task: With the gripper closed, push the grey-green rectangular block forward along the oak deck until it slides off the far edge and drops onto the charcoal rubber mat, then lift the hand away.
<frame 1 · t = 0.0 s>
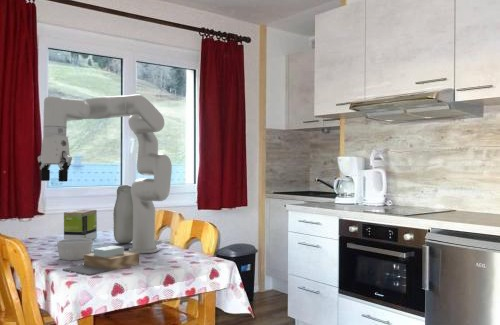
hand: (53, 181, 159), 31 cm above the table, tool pointing down, fingers open, 9 cm apart
grey bottle: (124, 243, 217), on the table
deck: (111, 264, 169), on the table
tea box: (80, 240, 226), on the table
mat: (86, 270, 159), on the table
ramekin: (74, 258, 181), on the table
grey-green rectangular block: (109, 254, 168), point 4 cm above the table, touching deck
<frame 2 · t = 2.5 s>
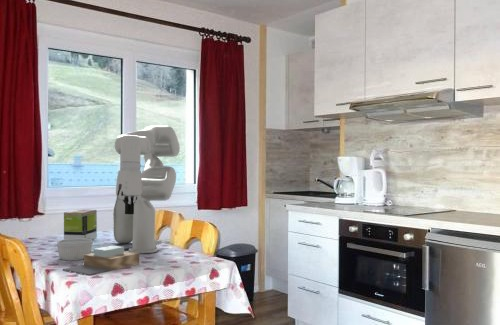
hand: (129, 213, 177), 18 cm above the table, tool pointing down, fingers closed
nothing on the table moved.
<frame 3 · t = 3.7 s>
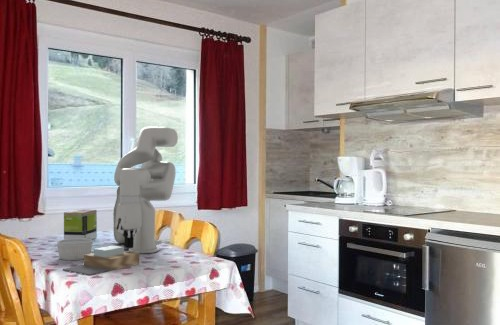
hand: (128, 247, 176), 5 cm above the table, tool pointing down, fingers closed
nothing on the table moved.
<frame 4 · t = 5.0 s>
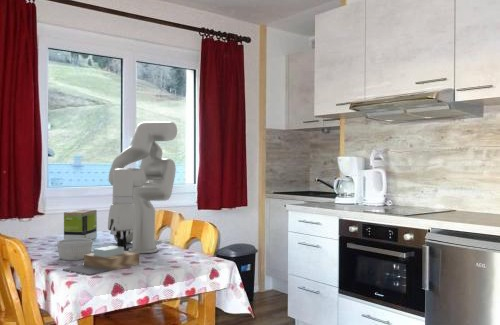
hand: (121, 248, 173), 5 cm above the table, tool pointing down, fingers closed
grey-green rectangular block: (109, 254, 168), point 4 cm above the table, touching deck, gripper
everything else where it was.
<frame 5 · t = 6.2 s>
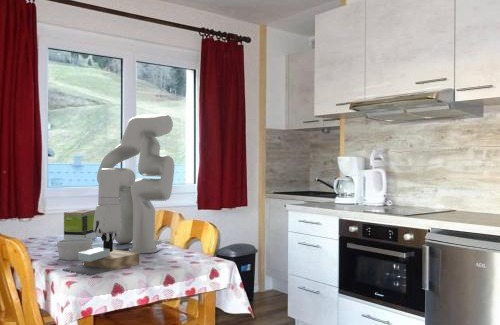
hand: (107, 251, 167), 5 cm above the table, tool pointing down, fingers closed
grey-green rectangular block: (94, 257, 162), point 4 cm above the table, touching deck
everything else where it was.
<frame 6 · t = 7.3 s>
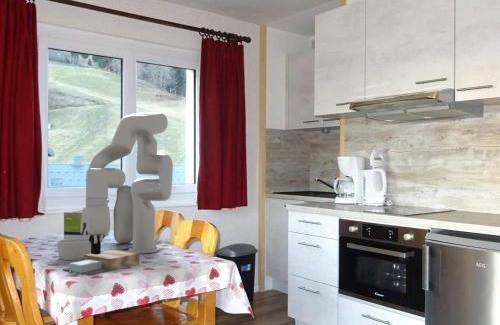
hand: (95, 253, 163), 5 cm above the table, tool pointing down, fingers closed
grey-green rectangular block: (85, 269, 159), resting on mat
everything else where it was.
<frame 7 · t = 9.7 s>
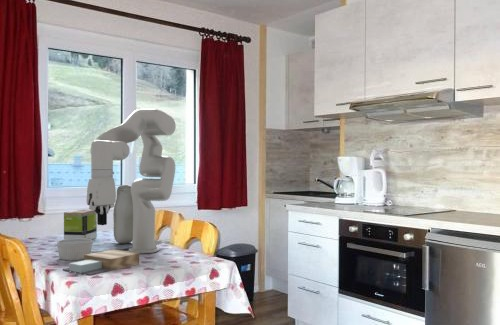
hand: (102, 224, 165), 15 cm above the table, tool pointing down, fingers closed
nothing on the table moved.
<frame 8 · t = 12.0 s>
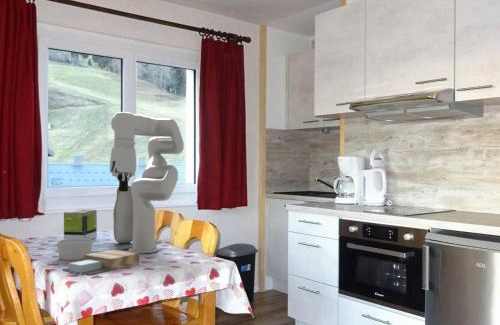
hand: (123, 191, 177), 27 cm above the table, tool pointing down, fingers closed
nothing on the table moved.
at the end: grey-green rectangular block inside the target area on the mat (0.7 cm from its centre), point 0.4 cm above the mat's base; grey-green rectangular block resting on mat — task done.
